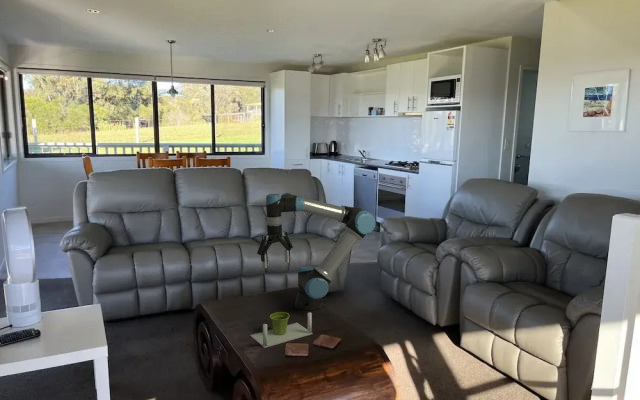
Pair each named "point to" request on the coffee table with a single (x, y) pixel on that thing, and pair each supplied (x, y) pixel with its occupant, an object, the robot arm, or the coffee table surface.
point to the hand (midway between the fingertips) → (276, 264)
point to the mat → (292, 333)
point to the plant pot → (279, 322)
